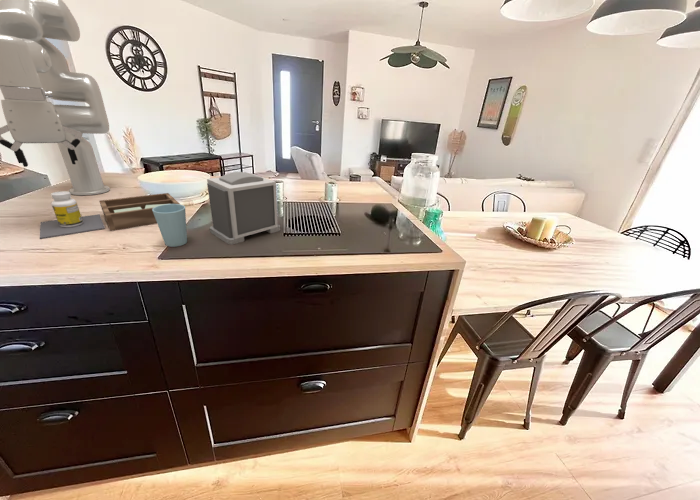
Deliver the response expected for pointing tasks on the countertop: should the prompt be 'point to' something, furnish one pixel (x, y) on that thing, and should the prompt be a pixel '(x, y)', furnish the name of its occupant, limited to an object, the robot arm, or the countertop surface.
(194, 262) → the countertop surface
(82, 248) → the countertop surface
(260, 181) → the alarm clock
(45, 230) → the mat
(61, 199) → the supplement bottle
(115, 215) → the rack
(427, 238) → the countertop surface
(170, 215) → the cup
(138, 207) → the offcut
